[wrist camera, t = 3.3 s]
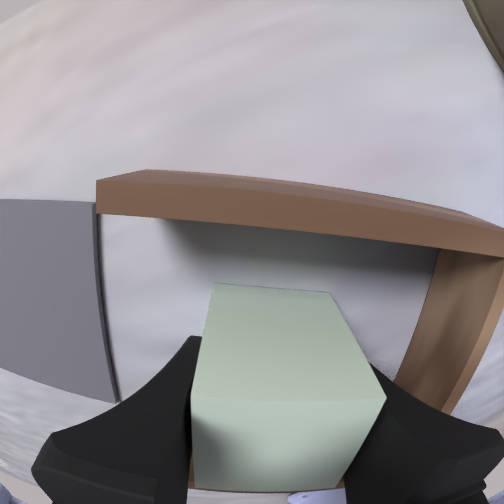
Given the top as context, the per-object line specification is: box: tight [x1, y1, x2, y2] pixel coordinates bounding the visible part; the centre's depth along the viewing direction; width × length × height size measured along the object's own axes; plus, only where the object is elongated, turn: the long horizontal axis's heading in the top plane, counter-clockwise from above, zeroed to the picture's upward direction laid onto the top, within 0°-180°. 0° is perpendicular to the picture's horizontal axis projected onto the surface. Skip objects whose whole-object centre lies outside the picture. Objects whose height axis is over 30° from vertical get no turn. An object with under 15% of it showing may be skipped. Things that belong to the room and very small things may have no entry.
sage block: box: [191, 283, 387, 492], centre depth 10 cm, size 4×4×6 cm
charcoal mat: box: [0, 199, 118, 404], centre depth 12 cm, size 10×10×1 cm
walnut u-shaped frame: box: [96, 170, 504, 493], centre depth 11 cm, size 13×13×4 cm
